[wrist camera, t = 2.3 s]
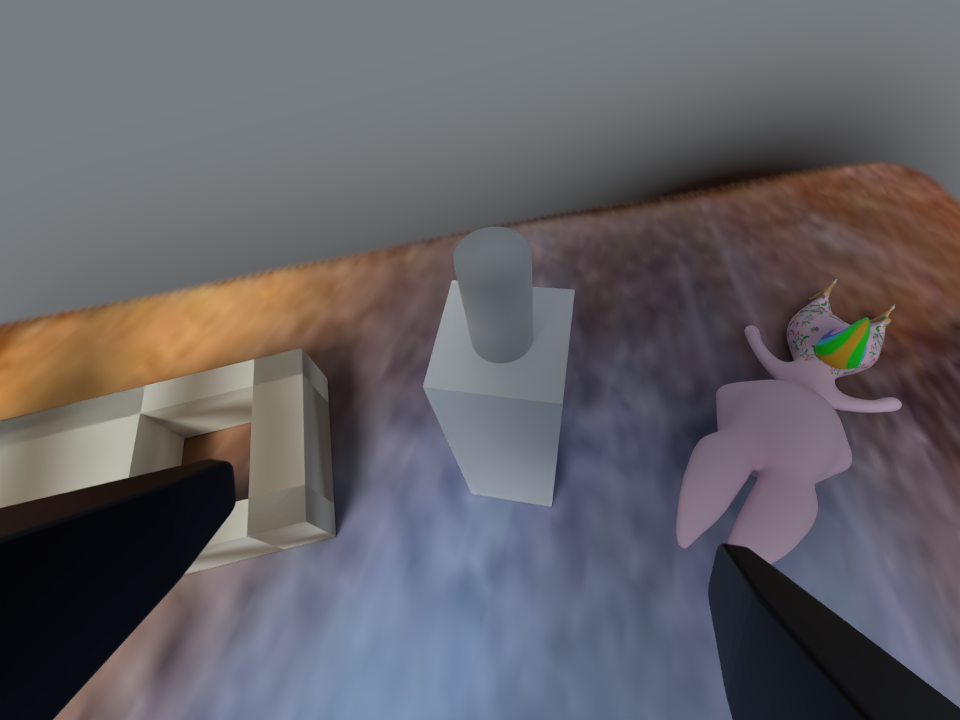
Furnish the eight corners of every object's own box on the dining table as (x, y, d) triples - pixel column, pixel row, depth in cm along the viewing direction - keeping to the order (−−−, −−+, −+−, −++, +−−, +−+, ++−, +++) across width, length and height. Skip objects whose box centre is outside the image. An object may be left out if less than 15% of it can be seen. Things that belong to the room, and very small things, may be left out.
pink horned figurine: (762, 307, 25) (608, 516, 18) (828, 209, 20) (653, 443, 13) (892, 370, 22) (770, 642, 16) (1003, 276, 18) (895, 606, 11)
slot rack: (327, 378, 24) (301, 347, 21) (336, 536, 20) (305, 521, 17) (-114, 486, 23) (-193, 467, 21) (-196, 669, 19) (-307, 674, 17)
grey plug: (551, 507, 20) (569, 333, 8) (471, 494, 20) (390, 315, 9) (560, 430, 21) (584, 200, 10) (486, 421, 22) (431, 194, 11)
